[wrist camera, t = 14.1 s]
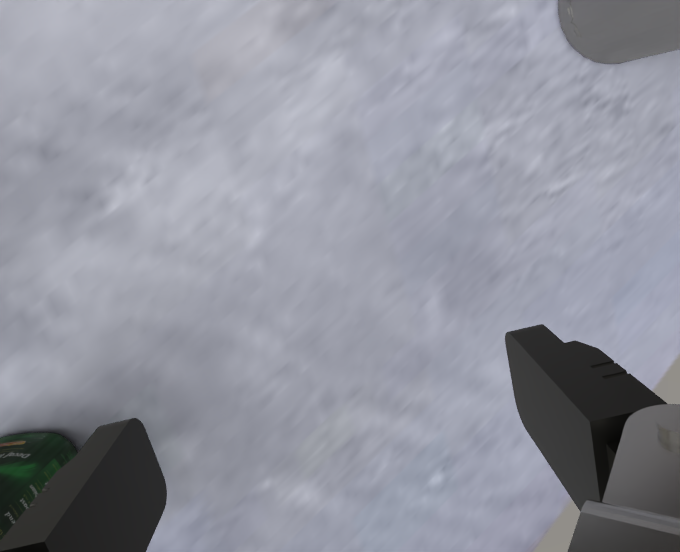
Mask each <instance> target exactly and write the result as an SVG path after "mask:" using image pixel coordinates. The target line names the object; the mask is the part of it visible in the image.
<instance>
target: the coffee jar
mask: <svg viewBox="0 0 680 552" xmlns="http://www.w3.org/2000/svg"><path fill="white" fill-rule="evenodd" d="M76 455H77V451H76V449H75V447H74V446H73V445H72V444H71V442H69V441H68V440H67V439H66V438H65V437H63V436H61V435H59V434H55V433H24V434H16V435H10V436H5V437H1V438H0V541H1V539H2V538H3V537H4V536H5V534H6V533H7V532H8V531H9V530H10V528H11V527H12V526H13V525H14V523H15V522H16V521H17V520H18V518H19V517H20V516H21V515H22V514H23V512H24V511H25V510H26V509H28V508H30V504H31V502H32V501H33V500H34V499H35V498H36V496H37V495H38V494H39V493H42V489H43V488H44V486H45V485H46V484H47V483H48V482H49V480H50V479H51V478H52V477H53V475H54V474H55V473H56V472H57V471H58V470H59V469H60V468H62V467H63V466H64V465H65V464H67V463H68V462H69V461H70V460H72V459H73V458H74V457H75V456H76Z"/></svg>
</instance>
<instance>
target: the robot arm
mask: <svg viewBox="0 0 680 552" xmlns="http://www.w3.org/2000/svg"><path fill="white" fill-rule="evenodd" d="M558 15H559V19H560V24H561V28H562V30H563V32H564V34H565V37H566V39H567V40H568V42H569V43H570V44H571V45H572V47H573V48H574V49H575V50H576V51H577V52H579V53H580V54H581V55H582V56H584V57H586V58H588V59H590V60H592V61H594V62H599V63H604V64H619V63H623V62H627V61H631V60H636V59H640V58H644V57H648V56H653V55H658V54H662V53H666V52H670V51H674V50H678V49H680V0H558ZM505 343H506V349H507V355H508V361H509V367H510V373H511V379H512V384H513V390H514V396H515V401H516V405H517V409H518V412H519V415H520V418H521V420H522V423H523V425H524V427H525V429H526V430H527V432H528V433H529V435H530V436H531V438H532V439H533V441H534V442H535V444H536V445H537V447H538V448H539V450H540V451H541V453H542V454H543V456H544V457H545V459H546V460H547V462H548V463H549V465H550V466H551V468H552V469H553V471H554V472H555V474H556V475H557V477H558V478H559V480H560V481H561V483H562V485H563V486H564V488H565V489H566V491H567V492H568V494H569V495H570V497H571V498H572V500H573V501H574V503H575V504H576V506H577V507H578V509H579V510H580V512H581V513H580V516H579V519H578V522H577V525H576V528H575V531H574V534H573V537H572V540H571V543H570V546H569V549H568V552H680V404H667V403H666V402H664V401H663V400H662V399H661V398H660V397H658V396H657V395H655V393H653V392H652V391H651V390H650V389H648V388H647V387H646V386H645V385H643V384H642V383H641V382H640V381H638V380H637V379H636V378H635V377H633V376H632V375H631V374H627V372H626V370H625V369H623V368H622V367H621V366H620V365H618V364H617V363H614V361H613V360H612V359H611V358H610V357H608V356H607V355H606V354H605V353H603V352H602V351H601V350H600V349H598V348H595V347H592V346H589V345H587V344H584V343H581V342H578V341H571V342H567V343H564V342H562V341H561V340H560V339H559V338H558V337H557V336H556V335H555V334H553V333H552V332H551V331H550V330H549V329H548V328H547V327H546V326H544V325H542V324H541V325H536V326H532V327H528V328H523V329H519V330H515V331H510V332H507V333H506V335H505ZM166 499H167V490H166V483H165V479H164V476H163V473H162V471H161V468H160V466H159V463H158V461H157V458H156V456H155V453H154V450H153V448H152V445H151V443H150V440H149V438H148V435H147V433H146V430H145V428H144V426H143V424H142V423H141V421H140V420H138V419H136V418H132V419H128V420H124V421H120V422H115V423H111V424H107V425H102V426H100V427H98V428H97V429H96V431H95V432H94V433H93V434H92V436H91V437H90V438H89V439H88V441H87V442H86V443H85V445H84V446H83V447H82V448H81V450H80V451H79V452H78V453H77V455H76V456H75V457H74V458H73V459H72V460H70V461H69V462H68V463H67V464H65V465H64V466H63V467H62V468H60V469H59V470H58V471H57V472H56V473H55V474H54V475H53V477H52V478H51V479H50V480H49V482H48V483H47V484H46V485H45V486H44V488H43V489H42V493H39V494H38V495H37V496H36V498H35V499H34V500H33V501H32V502H31V504H30V508H28V509H26V510H25V511H24V512H23V514H22V515H21V516H20V517H19V518H18V520H17V521H16V522H15V523H14V525H13V526H12V527H11V528H10V530H9V531H8V532H7V533H6V534H5V536H4V537H3V538H2V539H1V541H0V552H146V550H147V547H148V545H149V543H150V541H151V538H152V536H153V534H154V532H155V529H156V527H157V525H158V523H159V520H160V518H161V516H162V514H163V511H164V509H165V505H166Z"/></svg>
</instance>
